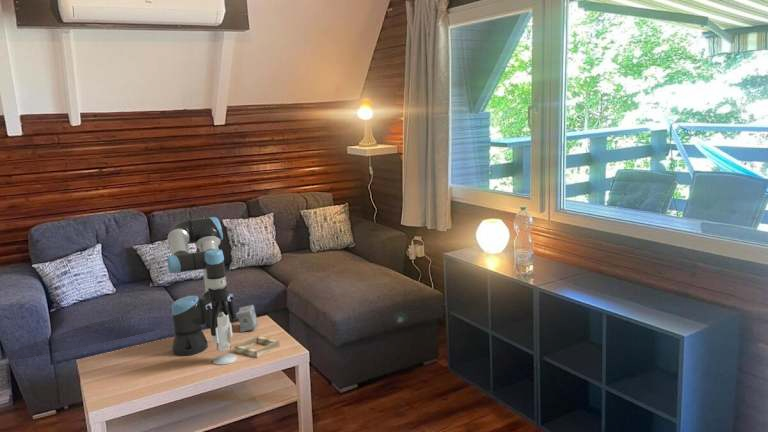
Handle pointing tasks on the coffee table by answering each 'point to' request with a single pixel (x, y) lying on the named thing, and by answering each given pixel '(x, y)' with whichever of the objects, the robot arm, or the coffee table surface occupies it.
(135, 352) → the coffee table surface
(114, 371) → the coffee table surface
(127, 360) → the coffee table surface
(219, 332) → the silver tall cylindrical piece
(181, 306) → the robot arm
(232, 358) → the white glossy dome
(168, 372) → the coffee table surface
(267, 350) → the frame
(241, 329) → the incense holder
